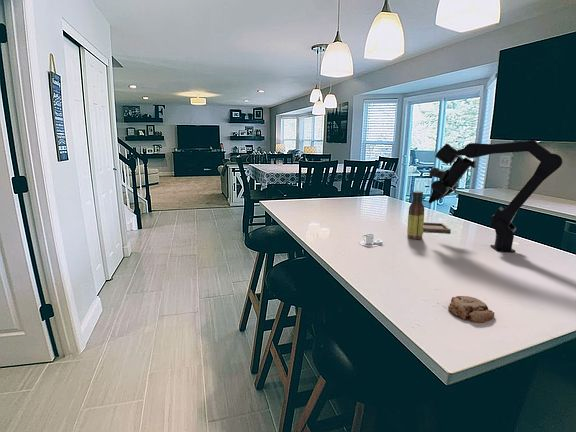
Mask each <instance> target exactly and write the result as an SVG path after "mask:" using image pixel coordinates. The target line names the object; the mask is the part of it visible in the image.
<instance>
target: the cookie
mask: <svg viewBox="0 0 576 432" xmlns="http://www.w3.org/2000/svg"><path fill="white" fill-rule="evenodd" d="M447 310H448V311H450V312H451V313H452V314H454V315H455V317H456V316H457V317H458V318H460V319H462V320H463V321H470V322H473V323H478V324H479V323H486V322H489V321H490V320H492V319H494V318H495V312H494V311H493V310H491V309H489V306H488V305H487V304H486V303H485V302H483V301H482V300H481V299H478V298H477V297H473V296H469V295H465V296H464V295H457V296H452V297H451V299H450V303H449V305H448V307H447Z"/></svg>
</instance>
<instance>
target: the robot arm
mask: <svg viewBox="0 0 576 432" xmlns="http://www.w3.org/2000/svg"><path fill="white" fill-rule="evenodd" d="M521 152H528V153H529V154H531V155H532V156H533V157H534V158H536V159H537V160H538V161H539V163H538V166H537V168H536V169H535V171H534V173H533V175H532V176H531V178H530V179H529V180H528V181H527V182H526V183H525V185H524V186H523V187H522V188H521V190H520V191H519V192H517V194H516V195H515V196H514V198H512V200H511V201H510V202H509V203H508V205H506V207H505V208H504V207H502V206H500V207H499V208H498V209H497V210H496V212H495V213H494V214H493V215H492V216H491V220H490V225H491V227H492V229H494V231H495V240H494V244H490V247H491V248H493V250H495V251H497V252H508V253H510V252H511V253H516V250H515V249H513V243H514V237H515V235H514V233H515V232H516V230H517V226H515V225H514V224H513V220H514V218H515V216H516V215H517V212H518V211H519V210H520V208H521V207H522V206H523V205H524V204H525V202H527V200H528V199H529V198H530V197H531V196H532V195H533V193H534V192H535V191H536V190H537V189H538V188H539V187H540V186H541V184H542V183H543V182H544V181H545V180H546V179H547V178H548V177H550V176H551V175H552V174H553V173H555V172H556V171H557V170H558V169H560V168H561V166H562V165H563V163H564V158H563V157H562V156H561V155H560V154H558V153H552V152H551V151H550V150H548V149H546V148H545V147H544V146H543V145H541V144H540V143H539V142H538V141H536V140H532V139H529V140H525V141H524V140H523V141H515V142H513V141H512V142H504V143H493V144H492V143H479V142H474V143H473V142H470V143H467V144H466V145H465V146H464V148H460V149H456V148H454V147H452V145H450V144H449V143H445V144H444V145H443V146H442V147H440V149H439V150H438V151H437V152H436V154H435V155H434V156H435V158H437V160H440V161H441V162H442V163H443V164H445V165H448V164H450V167H449V169H445V170H444V169H440V168H437V167H434V168H433V167H432V168H430V170H429V174H428V176H429V177H433V178H437V179H438V180H434V181H433V182H432V183H431V184H430V185H431V189H432V192H431V195H430V197H429V199H428V201H427V202H428V203H429V204H433V203H434V202H438V201H440V200H441V199H443V198H445V197H446V196H449V195H450V194H451V193H453V192H454V191H456V190H457V189H458V188H459V187H460V186H459V183H458V182H459V181H460V180H462V178H463V176H464V175H465V173H466V172H467V171H468V170H469V168H473V169H475V168H477V166H478V165H477V160H473V161H472V160H471V159H475V158H480V157H484V156H488V155H493V154H506V153H507V154H508V153H509V154H510V153H521ZM462 156H465V157H464V158H463V157H462Z"/></svg>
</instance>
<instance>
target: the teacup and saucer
mask: <svg viewBox="0 0 576 432" xmlns="http://www.w3.org/2000/svg"><path fill="white" fill-rule="evenodd" d="M364 237H365V239H364ZM374 238H375V234H373V233H365V234H363V237H362V240H359V242H358V243H359V245H362V246H365V247H369V248H370V247H374V248H375V247H378V246H380V245H382V244H383V242H384V241H383V240H382V239H376V240H374ZM364 243H366V244H364ZM372 244H373V245H372Z"/></svg>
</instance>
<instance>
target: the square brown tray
mask: <svg viewBox="0 0 576 432" xmlns="http://www.w3.org/2000/svg"><path fill="white" fill-rule="evenodd" d="M426 231H428V232H429V233H430V232H431V233H443V232H445V233H447V234H451V228H449V227H448V226H447V225H445V224H444V223H443V222H425V221H424V225H423V232H426Z"/></svg>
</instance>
